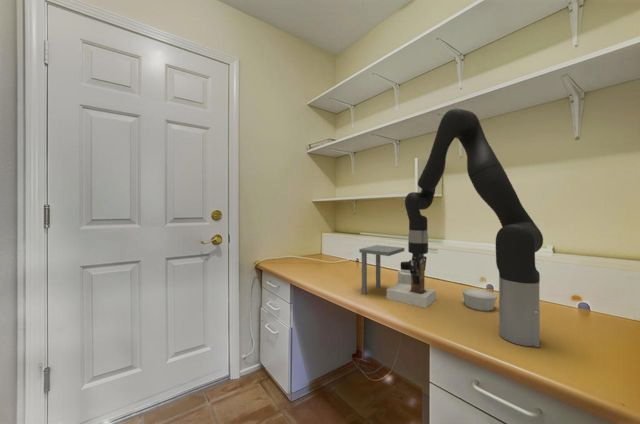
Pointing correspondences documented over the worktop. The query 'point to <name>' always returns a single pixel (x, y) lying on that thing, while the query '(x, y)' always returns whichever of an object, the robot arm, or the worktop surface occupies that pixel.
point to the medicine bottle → (404, 273)
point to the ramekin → (479, 299)
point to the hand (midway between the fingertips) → (418, 282)
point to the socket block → (411, 295)
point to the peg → (420, 286)
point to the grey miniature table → (378, 251)
